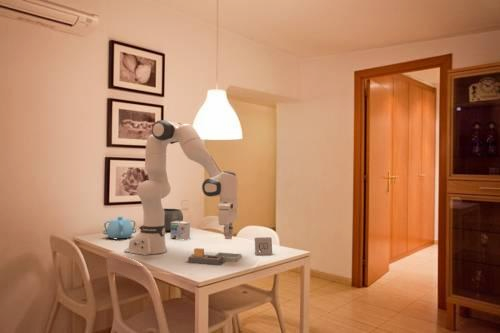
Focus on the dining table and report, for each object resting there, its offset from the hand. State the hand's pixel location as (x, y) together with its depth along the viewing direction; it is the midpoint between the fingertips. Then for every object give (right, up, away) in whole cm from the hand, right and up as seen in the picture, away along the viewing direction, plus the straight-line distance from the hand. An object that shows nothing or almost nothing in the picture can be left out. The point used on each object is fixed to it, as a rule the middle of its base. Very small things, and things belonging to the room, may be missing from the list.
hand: (228, 231), depth 185 cm
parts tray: (0, -14, 0) cm, 14 cm away
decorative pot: (-72, -13, +52) cm, 90 cm away
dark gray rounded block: (-48, -14, +81) cm, 95 cm away
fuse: (-14, -13, -6) cm, 20 cm away
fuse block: (-10, -14, -7) cm, 19 cm away
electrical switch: (+18, -15, +15) cm, 27 cm away
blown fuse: (0, -4, 0) cm, 4 cm away
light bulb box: (-34, -14, +53) cm, 64 cm away
